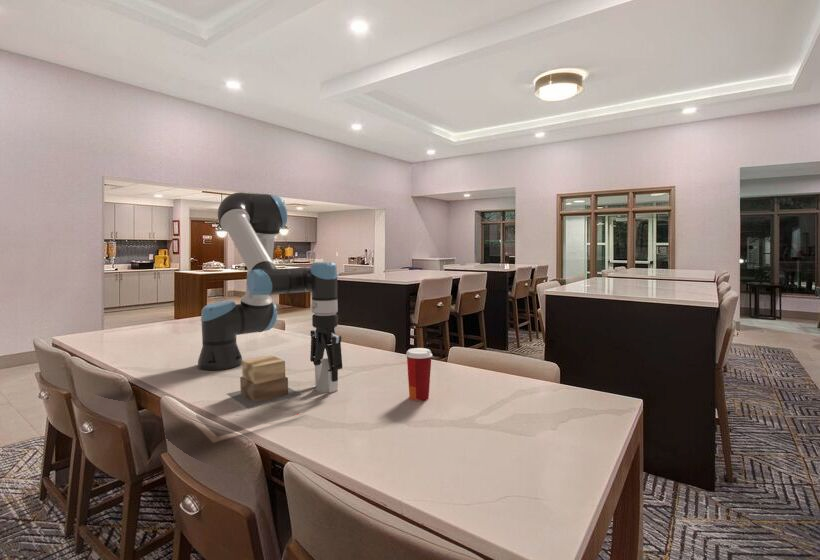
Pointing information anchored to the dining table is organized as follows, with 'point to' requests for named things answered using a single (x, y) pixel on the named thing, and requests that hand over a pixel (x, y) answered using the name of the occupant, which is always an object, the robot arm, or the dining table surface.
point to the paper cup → (419, 373)
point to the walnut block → (264, 389)
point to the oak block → (263, 369)
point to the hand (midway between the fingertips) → (326, 388)
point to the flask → (323, 377)
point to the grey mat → (251, 404)
